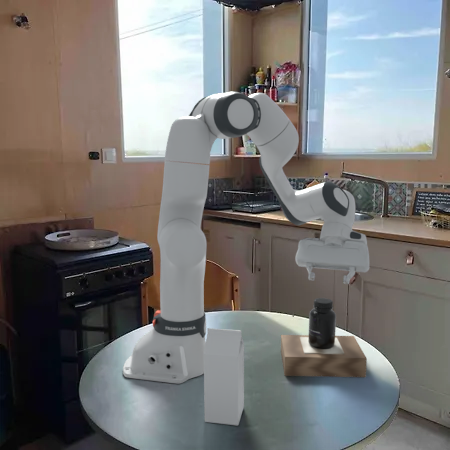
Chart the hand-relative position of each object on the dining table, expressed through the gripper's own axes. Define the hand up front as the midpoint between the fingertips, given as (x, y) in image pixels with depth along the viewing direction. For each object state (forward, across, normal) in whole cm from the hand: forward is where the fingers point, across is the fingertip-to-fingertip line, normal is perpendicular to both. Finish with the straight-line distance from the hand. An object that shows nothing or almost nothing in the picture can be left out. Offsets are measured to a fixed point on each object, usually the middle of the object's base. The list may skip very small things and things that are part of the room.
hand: (328, 281), depth 124 cm
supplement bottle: (+16, 0, +6) cm, 17 cm away
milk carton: (+42, -14, -13) cm, 47 cm away
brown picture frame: (+20, 0, +9) cm, 22 cm away
